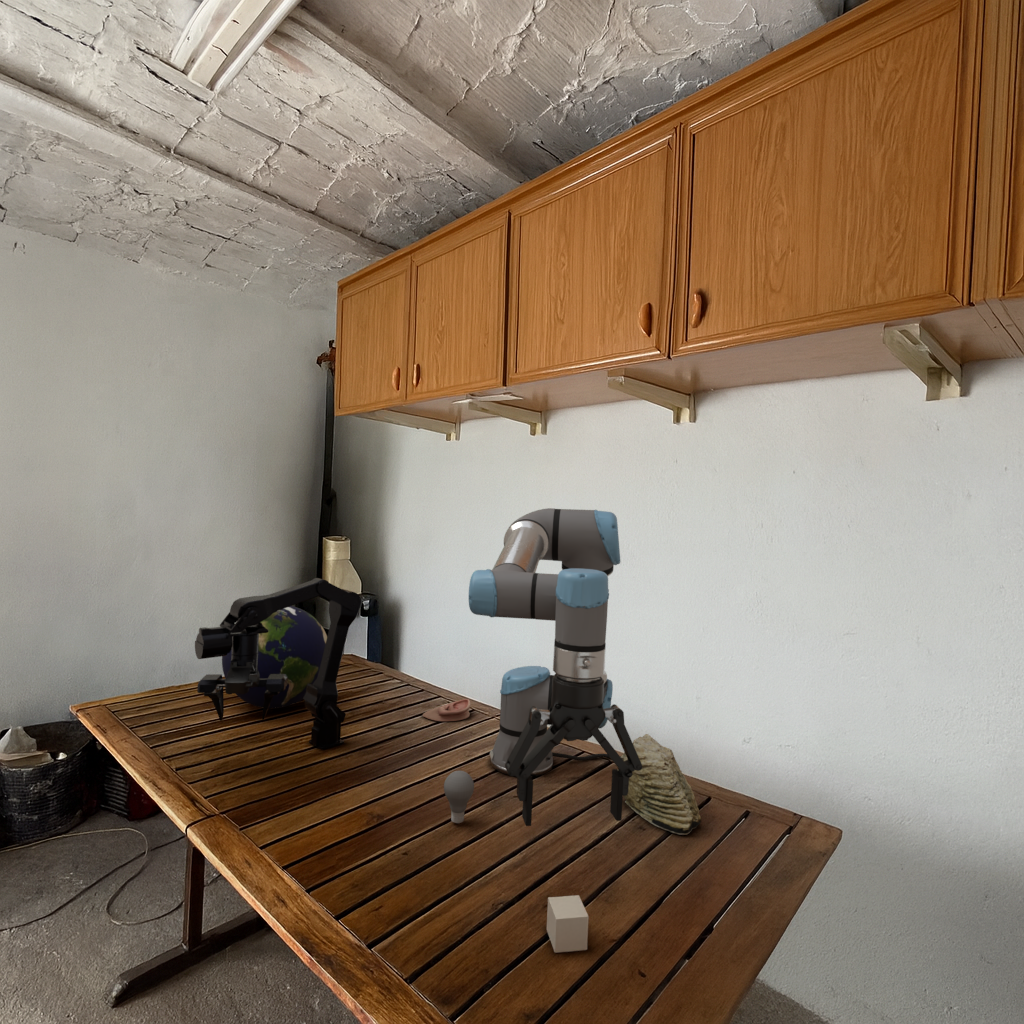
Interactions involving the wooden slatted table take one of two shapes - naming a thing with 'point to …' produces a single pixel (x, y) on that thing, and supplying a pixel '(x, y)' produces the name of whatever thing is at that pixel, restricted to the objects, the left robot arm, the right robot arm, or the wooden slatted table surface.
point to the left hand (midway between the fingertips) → (242, 719)
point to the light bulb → (458, 793)
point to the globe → (286, 655)
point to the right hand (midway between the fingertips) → (571, 818)
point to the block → (567, 923)
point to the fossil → (661, 789)
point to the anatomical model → (450, 711)
